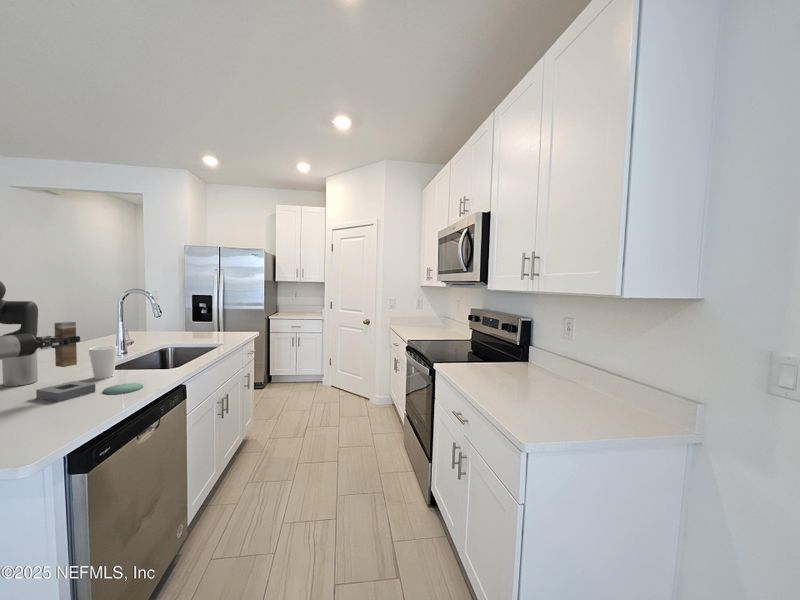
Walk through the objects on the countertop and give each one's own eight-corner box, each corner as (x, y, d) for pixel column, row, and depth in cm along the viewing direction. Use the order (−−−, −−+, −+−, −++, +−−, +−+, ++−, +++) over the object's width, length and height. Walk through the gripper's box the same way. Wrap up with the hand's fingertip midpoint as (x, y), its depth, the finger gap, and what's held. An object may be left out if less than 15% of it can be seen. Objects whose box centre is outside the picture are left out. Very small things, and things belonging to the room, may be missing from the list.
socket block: (36, 398, 117) (36, 389, 117) (74, 388, 128) (74, 380, 127) (58, 401, 114) (58, 393, 114) (95, 391, 125) (95, 383, 125)
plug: (55, 366, 119) (54, 322, 118) (69, 363, 123) (68, 321, 122) (63, 367, 118) (62, 323, 117) (76, 364, 122) (75, 321, 121)
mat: (103, 388, 129) (103, 386, 129) (142, 382, 137) (142, 381, 137) (103, 396, 120) (103, 395, 120) (144, 390, 128) (144, 388, 128)
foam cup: (106, 373, 148) (105, 345, 148) (123, 374, 147) (123, 346, 146) (83, 379, 139) (82, 349, 138) (101, 380, 138) (101, 350, 137)
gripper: (25, 336, 104) (88, 329, 121) (-4, 333, 107) (61, 327, 124) (26, 360, 104) (89, 349, 121) (-4, 356, 108) (61, 346, 124)
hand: (74, 338), depth 122 cm, fingers closed on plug, 4 cm apart
